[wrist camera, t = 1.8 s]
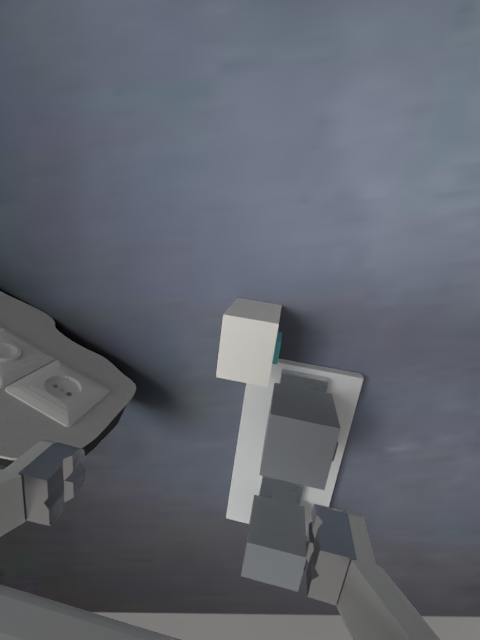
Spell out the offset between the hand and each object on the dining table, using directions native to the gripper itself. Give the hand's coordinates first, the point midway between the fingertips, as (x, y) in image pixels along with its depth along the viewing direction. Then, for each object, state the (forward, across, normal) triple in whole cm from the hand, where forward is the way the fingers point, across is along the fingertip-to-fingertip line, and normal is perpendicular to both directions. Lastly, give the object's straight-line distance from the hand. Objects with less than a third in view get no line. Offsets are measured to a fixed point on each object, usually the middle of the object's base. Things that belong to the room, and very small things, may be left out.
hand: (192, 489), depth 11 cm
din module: (+19, 0, 0) cm, 19 cm away
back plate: (+19, -5, +12) cm, 23 cm away
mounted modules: (+17, -5, +12) cm, 21 cm away
